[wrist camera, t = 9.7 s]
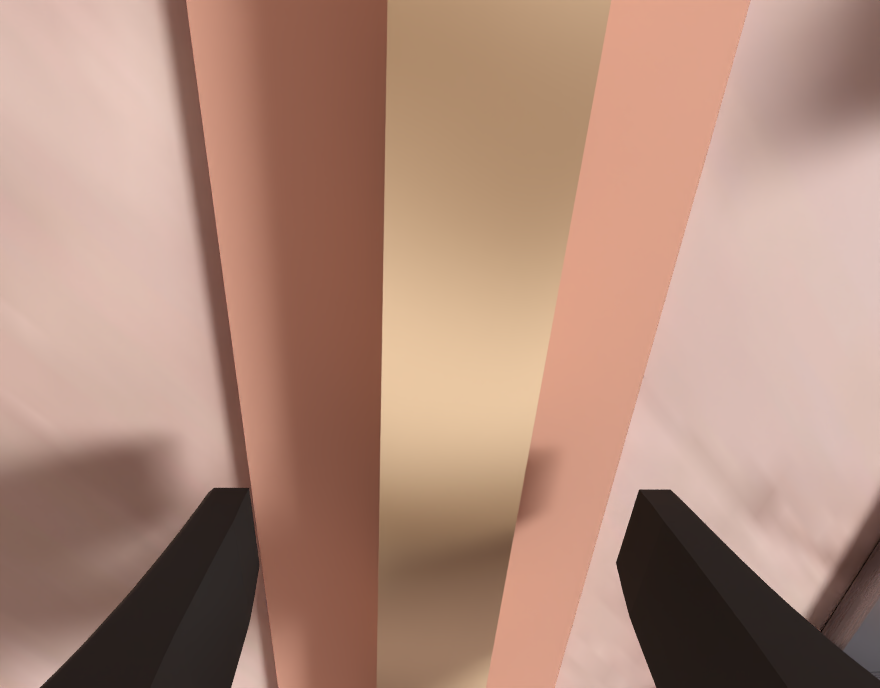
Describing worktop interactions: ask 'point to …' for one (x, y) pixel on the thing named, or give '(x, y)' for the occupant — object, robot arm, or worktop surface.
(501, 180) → the rail
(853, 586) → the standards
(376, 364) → the mat
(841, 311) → the worktop surface
